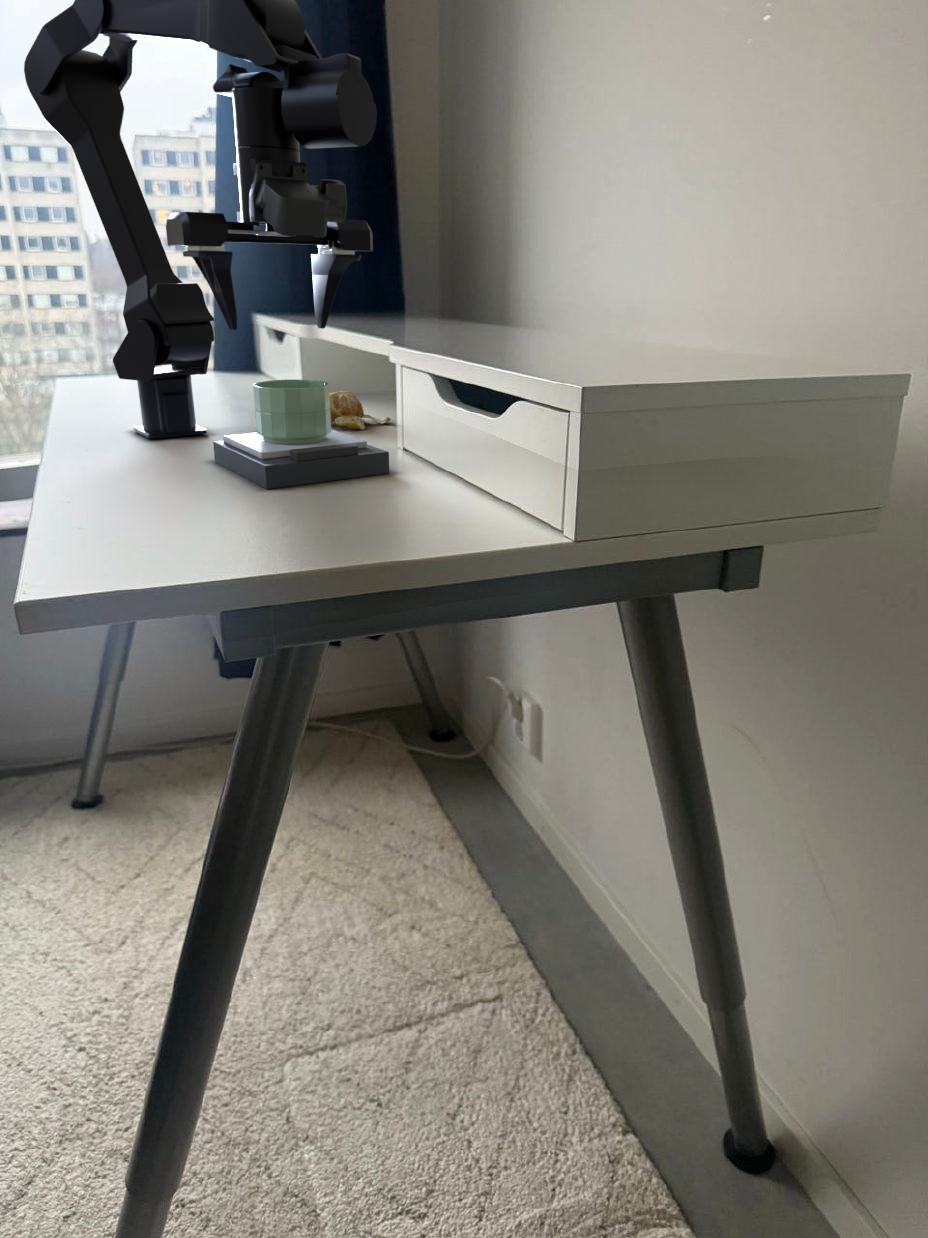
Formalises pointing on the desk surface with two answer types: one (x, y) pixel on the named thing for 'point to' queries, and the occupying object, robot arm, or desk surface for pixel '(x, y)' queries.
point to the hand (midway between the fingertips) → (278, 329)
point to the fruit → (349, 411)
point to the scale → (299, 459)
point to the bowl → (292, 411)
